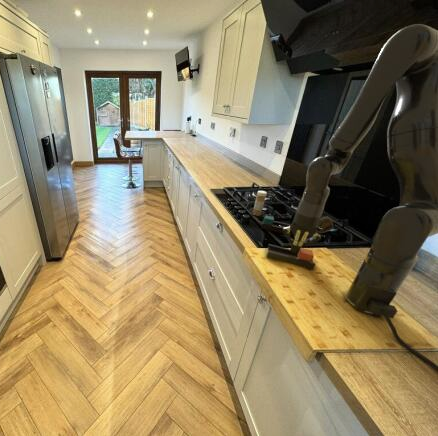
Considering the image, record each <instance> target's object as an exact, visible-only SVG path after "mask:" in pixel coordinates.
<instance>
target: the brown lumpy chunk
mask: <svg viewBox="0 0 438 436" xmlns="http://www.w3.org/2000/svg"><path fill="white" fill-rule="evenodd" d="M317 226H318V227H320V228H322V229H323V230H324V231H323V230H321V229H319V228H316V230H317V234H324V233H327V232H331V231H332V230H333V229H334V228H335V227H334V222H333V220H332V219H331V218H330V217H328V216H321V218H320V220H319V223H318V225H317ZM330 230H331V231H330Z"/></svg>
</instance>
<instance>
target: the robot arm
mask: <svg viewBox="0 0 438 436" xmlns="http://www.w3.org/2000/svg"><path fill="white" fill-rule="evenodd" d="M395 85H396V101H395V105H394V109H393V111H392V114H391V117H390V119H389V122H388V126H387V131H386V144H387V147H386V148H387V149H386V151H387V157H388V160H389V163H390V165H391V168H392V170H393V172H394V174H395V176H396V178H397V181H398V183H399V205H398V206H395V207H393V208H391V209H389V210H388V211H387V212H386V213H385V214H384V215H383V217H382V218H381V219H380V222H379V224H378V226H377V228H376V230H375V231H374V235H373V237H372V238H371V243H370V244H371V247H370V249H369V251H368V252H367V254H366V256H365V258H364V260H363V262H362V264H361V266H360V267H359V268H358V271H357V273H356V275H355V277H354V279H353V280H352V282H351V284H350V285H349V288H348V290H347V291H346V293H345V294H344V298H345V300H346V301H347V302H348V303H349V304H350V305H351V306H352V307H353V309H354V310H356V311H359V312H362V313H365V314H367V315H370V316H371V315H372V316H375V317H378V318H382V317H384V319H385V321H386V323H387V324H388V325H389V328H390V330H391V332H392V335H393V337H394V338H395V340H396V341H397V342H398V343H399V344H400V345H401V346H402V347H403V348H405V349H406V350H407V351H409V352H410V353H411V354H412V355H415V356H416V357H417V358H419V359H421V360H423V361H424V362H426V363H427V364H428V365H430V366H431V367H432V368H433V369H435V370H436V371H437V372H438V365H437V364H436V363H435V362H433V360H431V359H429V358H428V357H426V356H425V355H423V354H421V353H420V352H418V351H416V350H415V349H414V348H412V347H411V346H410V345H408V344H407V343H406V342H405V341H404V340H403V339H401V337H400V335H399V334H398V332H397V329H396V327H395V325H394V323H393V322H392V320H391V319H394V317H395V316H396V315H397V313H398V310H397V309H398V308H396V306H395V305H392V304H391V303H392V301H394V299H395V298H396V296H397V292H398V291H399V289H400V288H401V286H402V285H403V284H404V282H405V281H406V279H407V278H408V276H409V274H410V273H411V271H412V270H413V268H414V267H415V265H416V264H417V262H418V260H419V256H418V253H419V252H420V250H421V248H422V247H423V245H424V243H425V242H426V240H427V239H428V238H431V237H433V236H435V235H438V30H437V29H435V28H433V27H432V26H429V25H426V24H421V23H419V24H417V23H416V24H415V23H414V24H411V25H408V26H405V27H403V28H402V29H399V30H398V31H397V32H395V33H394V34H393V35H392V36H391V37H390V38H389V39H388V40H387V41H386V42H385V43H384V45H383V47H381V50H380V52H379V53H378V56H377V58H376V59H375V62H374V64H373V66H372V68H371V70H370V72H369V74H368V76H367V78H366V80H365V82H364V83H363V86H362V87H361V89H360V91H359V93H358V95H357V97H356V99H355V101H354V103H353V104H352V106H351V107H350V109H349V111H348V112H347V114H346V115H345V117H344V119H343V120H342V122H341V123H340V124H339V126H338V128H337V129H336V130H335V132H334V133H333V135H332V136H331V138H330V139H329V142H328V146H329V149H328V150H327V153H326V154H325V155H322V156H318V157H316V158H314V159H313V160H312V161H311V162H310V163H309V166H308V167H307V171H306V176H305V177H306V178H305V188H304V191H303V194H302V197H301V198H300V201H299V203H298V205H297V207H296V211H295V214H294V217H293V220H292V222H291V223H289V224H290V226H289V227H283V232H284V234H283V235H284V236H285V238H286V240H287V241H288V242H287V243H290V244H291V246H290V249H291V252H292V253H293V254H297V253H299V251H300V248H303V247H309V246H311V245H313V244H315V243H317V242H319V241H321V240H322V235H320V233H317V231H318V230H317V229H316V228H317V225H318V223H319V220H320V218H322V216H323V213H324V209H325V205H326V202H327V200H328V198H329V196H330V191H331V188H330V187H329V180H330V178H332V177H335V176H337V175H339V174H340V173H341V172H342V171H343V170H344V168H345V167H346V166H347V164H348V162H349V160H350V159H351V157H352V155H353V153H354V151H355V149H356V148H357V147H358V145H360V143H361V141H363V139H364V138H365V137H366V135H367V134H368V133H369V131H370V130H371V128H372V126H373V125H374V123H375V121H376V119H377V117H378V115H379V112H380V110H381V107H382V106H383V103H384V101H385V100H386V98H387V96H388V95H389V93H390V92H391V90H392V88H393V87H394V86H395ZM290 229H291V231H292V233H293V235H294V236H291V235H290V234H289V232H290Z"/></svg>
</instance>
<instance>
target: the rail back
mask: <svg viewBox="0 0 438 436" xmlns="http://www.w3.org/2000/svg"><path fill="white" fill-rule="evenodd" d="M263 221H264V218H262V220H261V225H260V229H261V230H264V231H265V230H266V231H269V232H275V233H278V234H283V235H285V234H284V232H283V227H280V226H279V225H282V226H286V227H289V226H290V224H291V223H285V222H280V221H276V220H274V221H273V224H272V225H269V224H265V223H263ZM289 234H290V236H291V237H294V235H293V233H292V231H291V229H290V232H289Z"/></svg>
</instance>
